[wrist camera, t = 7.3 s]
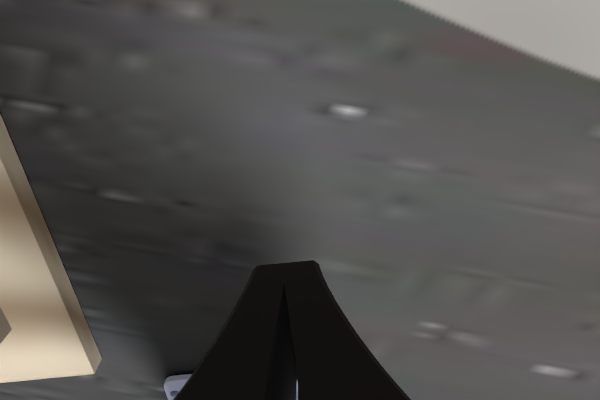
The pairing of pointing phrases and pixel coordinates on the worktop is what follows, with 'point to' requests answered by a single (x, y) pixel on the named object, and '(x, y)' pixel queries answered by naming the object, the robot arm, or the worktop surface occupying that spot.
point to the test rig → (35, 288)
